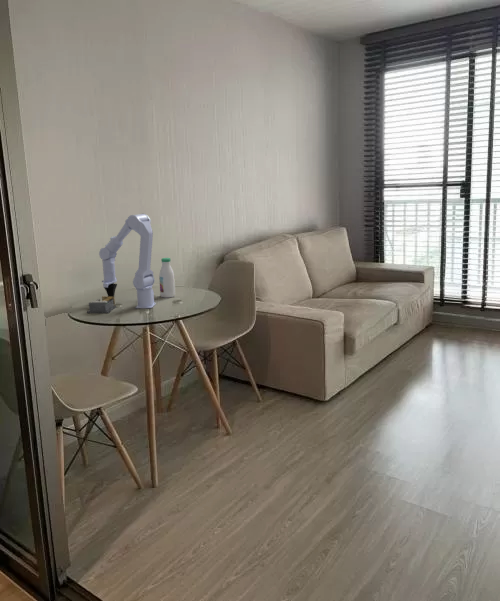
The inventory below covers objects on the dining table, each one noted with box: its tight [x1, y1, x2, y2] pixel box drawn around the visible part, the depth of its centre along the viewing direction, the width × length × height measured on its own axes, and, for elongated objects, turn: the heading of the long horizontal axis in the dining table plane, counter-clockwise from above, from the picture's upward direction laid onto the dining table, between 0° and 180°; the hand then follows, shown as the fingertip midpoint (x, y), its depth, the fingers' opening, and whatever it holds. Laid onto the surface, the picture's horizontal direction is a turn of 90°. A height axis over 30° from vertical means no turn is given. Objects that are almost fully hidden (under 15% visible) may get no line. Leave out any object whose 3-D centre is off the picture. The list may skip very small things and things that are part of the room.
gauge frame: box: [86, 298, 117, 314], centre depth 255 cm, size 12×10×5 cm
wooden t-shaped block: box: [101, 295, 116, 305], centre depth 260 cm, size 10×6×4 cm, turn 176°
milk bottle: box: [158, 257, 176, 298], centre depth 280 cm, size 8×8×20 cm
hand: (111, 298), depth 269 cm, fingers closed
